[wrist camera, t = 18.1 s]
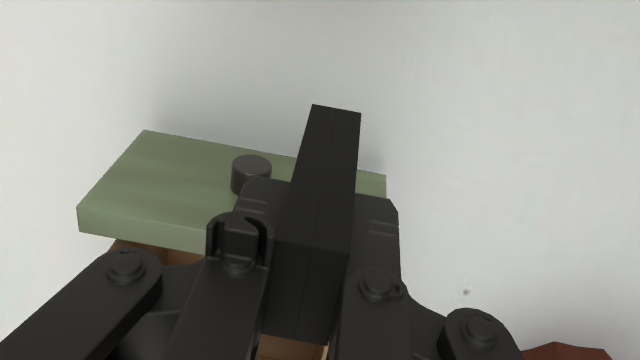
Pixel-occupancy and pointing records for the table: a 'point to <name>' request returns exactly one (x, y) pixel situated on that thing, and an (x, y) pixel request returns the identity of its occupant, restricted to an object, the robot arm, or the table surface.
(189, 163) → the drawer
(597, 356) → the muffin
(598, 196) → the table surface
